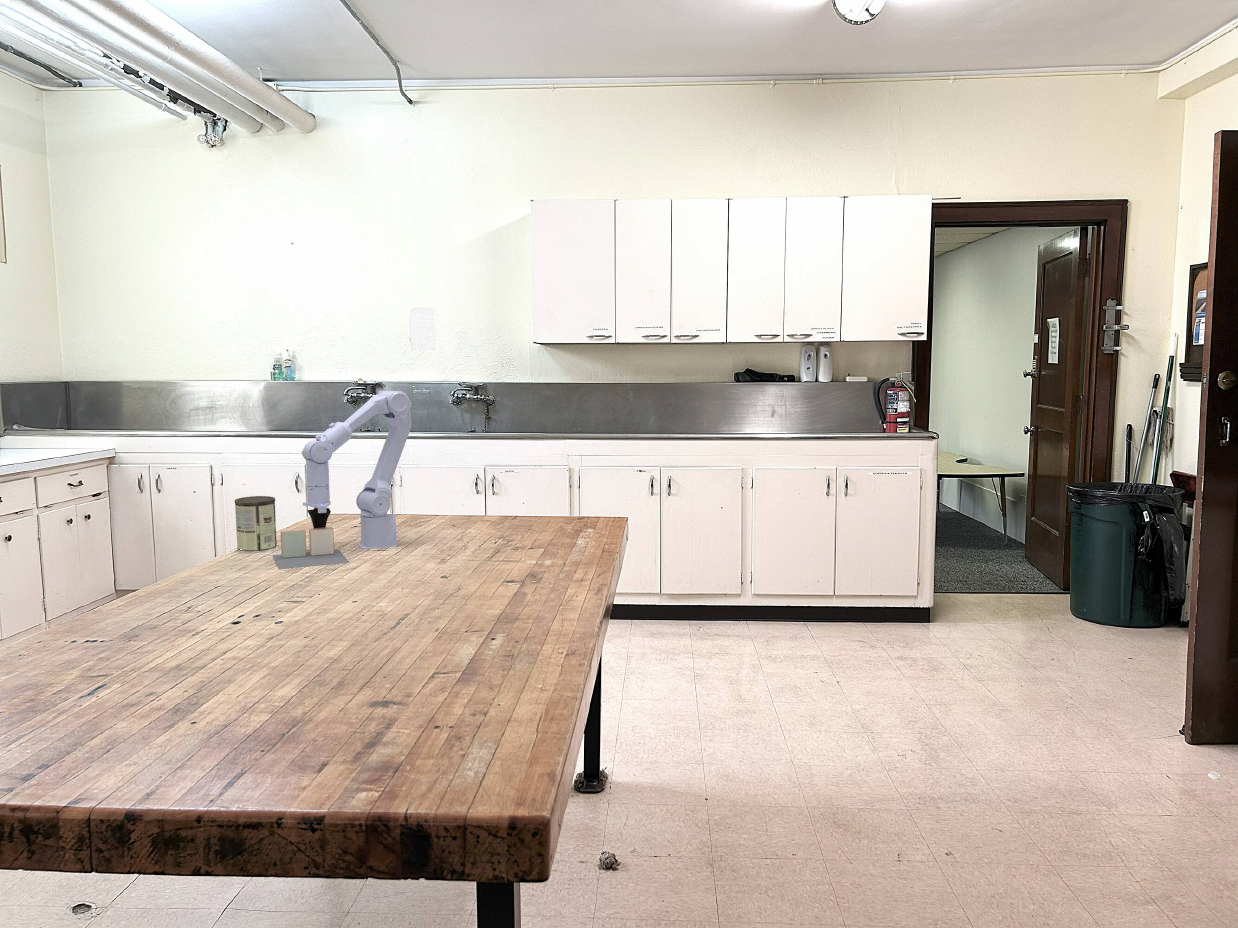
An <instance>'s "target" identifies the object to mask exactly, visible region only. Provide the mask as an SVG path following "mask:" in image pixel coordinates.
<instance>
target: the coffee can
mask: <svg viewBox="0 0 1238 928" xmlns="http://www.w3.org/2000/svg"><path fill="white" fill-rule="evenodd" d="M233 503H234V507H235V508H234V509H235V526H236V527H235V528H236V529H235V530H236V547H237V548H236V550H237V552H240V553H246V554H247V553H265V552H269V551H273V550H276V549H278V545H277V543H278V542H277V524H276V523H277V522H276V521H277V520H276V497H273V496H268V495H256V496H255V495H250V496H244V497H243V496H242V497H238V498H236V499H234V502H233ZM240 549H242V550H240ZM238 550H240V551H238Z"/></svg>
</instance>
